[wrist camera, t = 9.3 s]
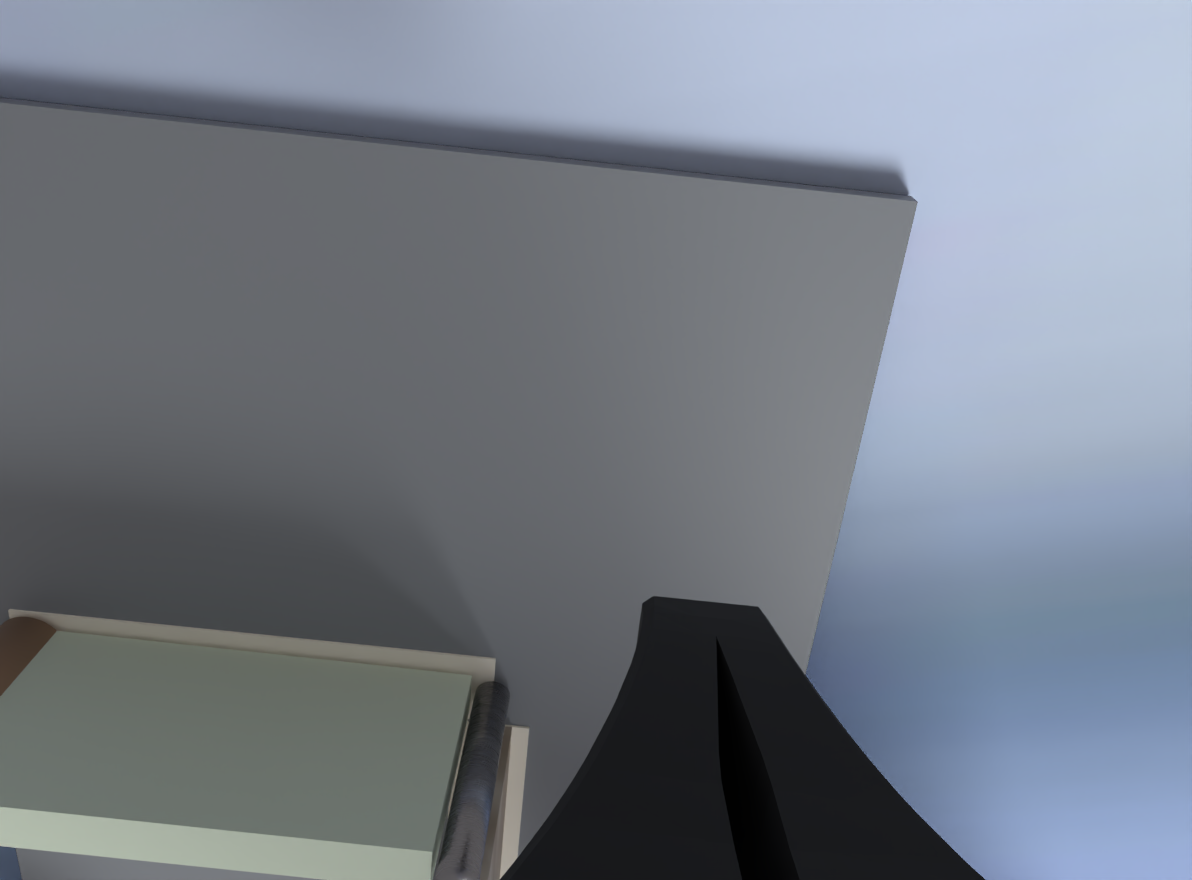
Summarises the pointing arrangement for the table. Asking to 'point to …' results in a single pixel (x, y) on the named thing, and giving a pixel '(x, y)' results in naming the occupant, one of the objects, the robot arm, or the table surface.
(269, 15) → the table surface
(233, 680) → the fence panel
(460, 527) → the board
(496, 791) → the fence fixed section
